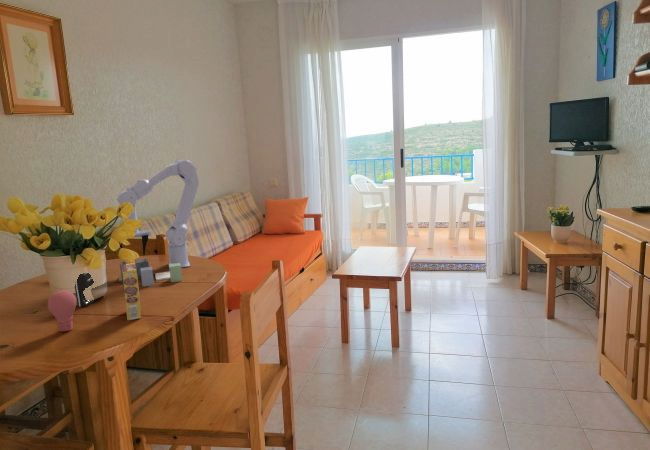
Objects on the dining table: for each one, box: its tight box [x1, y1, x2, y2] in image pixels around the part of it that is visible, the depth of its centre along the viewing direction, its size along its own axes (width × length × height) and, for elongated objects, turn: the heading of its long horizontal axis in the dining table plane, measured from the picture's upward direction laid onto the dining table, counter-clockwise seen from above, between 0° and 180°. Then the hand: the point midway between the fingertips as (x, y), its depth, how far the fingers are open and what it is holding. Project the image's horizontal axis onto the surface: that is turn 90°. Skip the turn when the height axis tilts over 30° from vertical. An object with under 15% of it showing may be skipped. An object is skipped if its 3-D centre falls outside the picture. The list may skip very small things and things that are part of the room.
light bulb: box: [47, 289, 77, 332], centre depth 132 cm, size 7×7×12 cm
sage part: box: [168, 263, 183, 283], centre depth 176 cm, size 4×4×6 cm
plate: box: [154, 270, 170, 281], centre depth 182 cm, size 8×8×1 cm
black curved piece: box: [74, 273, 95, 308], centre depth 154 cm, size 7×4×11 cm, turn 178°
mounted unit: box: [118, 258, 150, 284], centre depth 181 cm, size 7×12×6 cm, turn 112°
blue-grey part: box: [140, 266, 155, 288], centre depth 172 cm, size 4×4×6 cm
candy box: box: [121, 263, 142, 321], centre depth 142 cm, size 9×4×15 cm, turn 24°
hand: (133, 255), depth 185 cm, fingers open, 7 cm apart
